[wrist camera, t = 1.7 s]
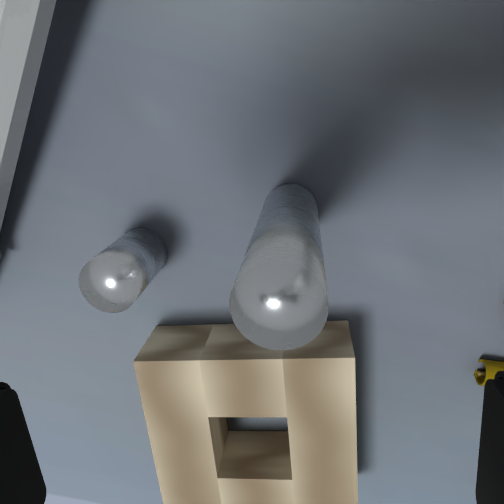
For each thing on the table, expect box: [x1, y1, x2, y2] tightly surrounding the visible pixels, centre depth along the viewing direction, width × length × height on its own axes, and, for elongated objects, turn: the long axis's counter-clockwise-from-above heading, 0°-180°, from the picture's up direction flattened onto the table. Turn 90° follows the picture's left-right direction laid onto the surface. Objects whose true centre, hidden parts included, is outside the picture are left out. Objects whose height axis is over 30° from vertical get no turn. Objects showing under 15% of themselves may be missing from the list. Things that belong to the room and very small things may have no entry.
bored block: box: [133, 320, 358, 504], centre depth 27 cm, size 12×12×4 cm
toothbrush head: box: [0, 0, 56, 259], centre depth 22 cm, size 5×7×25 cm
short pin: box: [79, 228, 167, 313], centre depth 24 cm, size 3×3×5 cm
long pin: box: [230, 184, 329, 350], centre depth 19 cm, size 3×3×12 cm
